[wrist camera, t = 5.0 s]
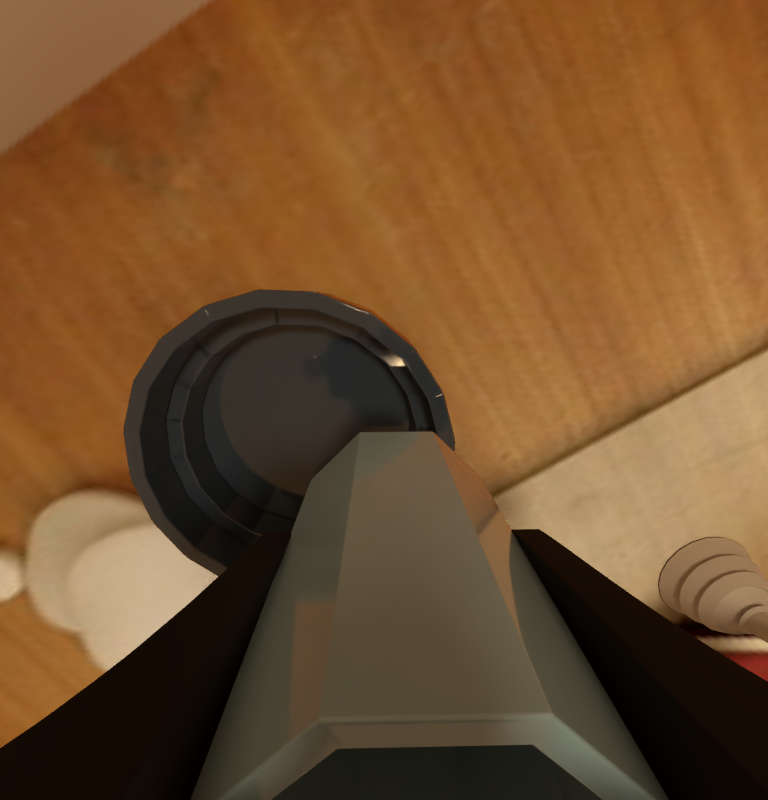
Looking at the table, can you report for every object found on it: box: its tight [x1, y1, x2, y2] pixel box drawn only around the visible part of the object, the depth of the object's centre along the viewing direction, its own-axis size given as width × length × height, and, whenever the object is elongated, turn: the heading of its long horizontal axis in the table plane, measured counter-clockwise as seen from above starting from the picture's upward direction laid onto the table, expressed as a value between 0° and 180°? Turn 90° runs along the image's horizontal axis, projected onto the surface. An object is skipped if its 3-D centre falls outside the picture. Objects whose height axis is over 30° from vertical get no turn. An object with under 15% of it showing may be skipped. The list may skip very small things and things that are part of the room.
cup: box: [190, 432, 669, 800], centre depth 7 cm, size 5×5×7 cm
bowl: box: [123, 289, 455, 576], centre depth 16 cm, size 12×12×4 cm
